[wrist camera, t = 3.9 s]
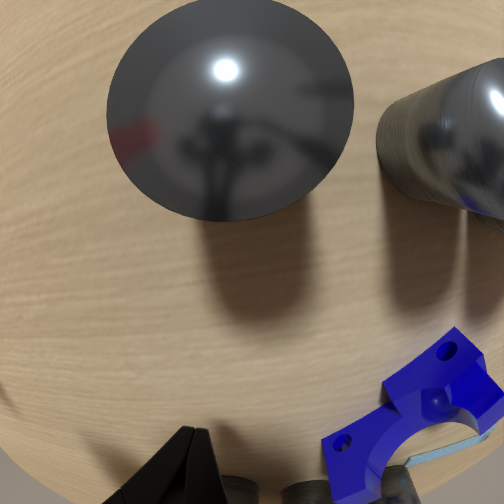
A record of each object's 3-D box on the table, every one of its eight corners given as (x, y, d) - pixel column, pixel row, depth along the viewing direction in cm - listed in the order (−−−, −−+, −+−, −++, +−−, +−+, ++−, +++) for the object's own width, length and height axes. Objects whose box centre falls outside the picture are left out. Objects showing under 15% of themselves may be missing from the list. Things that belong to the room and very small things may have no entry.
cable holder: (452, 324, 10) (504, 375, 6) (466, 366, 11) (506, 413, 7) (305, 424, 12) (315, 493, 8) (338, 451, 12) (352, 510, 8)
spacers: (518, 140, 8) (600, 142, 3) (392, 489, 14) (407, 538, 9) (191, 69, 8) (131, -13, 3) (202, 498, 14) (193, 556, 9)
